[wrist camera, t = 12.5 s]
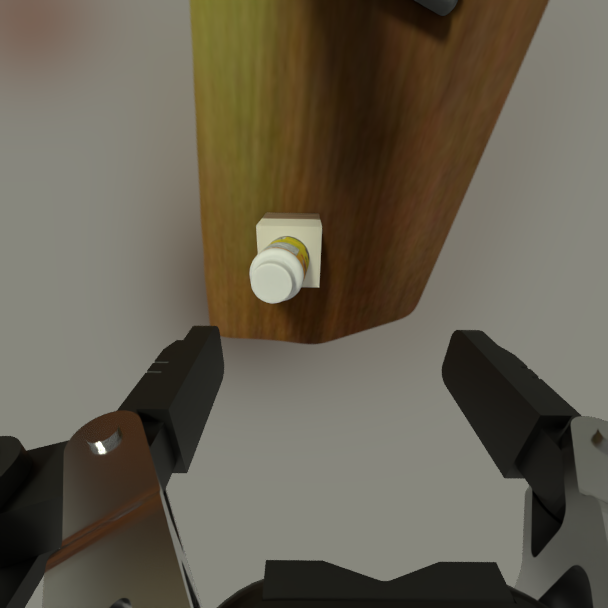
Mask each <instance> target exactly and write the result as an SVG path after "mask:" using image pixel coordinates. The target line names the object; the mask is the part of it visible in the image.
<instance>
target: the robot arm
mask: <svg viewBox="0 0 608 608" xmlns="http://www.w3.org/2000/svg"><path fill="white" fill-rule="evenodd" d="M147 371H148V372H147V373H145V374H144V376H143V377H142V378H141V380H140V381H139V382H138V384H137V385H136V386H135V388H134V389H133V390H132V391H131V393H130V394H129V395H128V397H127V398H126V399H125V401H124V402H123V403H122V405H121V406H120V407H119V409H118V410H117V411H114V412H110V413H107V414H104V415H102V416H99V417H97V418H95V419H93V420H91V421H90V422H88V423H87V424H85V425H84V426H82V427H81V428H80V429H79V430H78V431H77V432H76V433H75V434H74V435H73V436H72V437H71V439H70V440H68V441H65V442H60V443H56V444H52V445H49V446H44V447H40V448H36V449H32V450H28V451H26V450H25V448H24V447H23V445H22V444H21V443H20V441H19V440H18V439H17V438H15V437H11V436H0V608H25V606H26V604H27V603H28V601H29V599H30V598H31V596H32V594H33V592H34V591H35V589H36V587H37V586H38V584H39V582H40V581H41V579H42V577H43V575H44V584H43V601H42V608H202V605H201V602H200V598H199V595H198V593H197V589H196V586H195V583H194V580H193V577H192V573H191V570H190V567H189V564H188V561H187V558H186V554H185V551H184V548H183V545H182V541H181V537H180V534H179V531H178V527H177V524H176V521H175V517H174V514H173V511H172V507H171V504H170V501H169V497H168V494H167V491H166V486H167V484H168V481H169V479H170V477H171V474H172V473H187V472H188V469H189V466H190V463H191V461H192V458H193V456H194V453H195V451H196V448H197V445H198V443H199V440H200V437H201V435H202V432H203V429H204V427H205V424H206V422H207V419H208V416H209V414H210V411H211V409H212V406H213V403H214V401H215V398H216V395H217V393H218V390H219V388H220V385H221V382H222V379H223V374H224V360H223V353H222V346H221V339H220V332H219V329H218V327H217V326H193V327H192V328H191V330H190V331H189V333H188V334H187V336H186V337H185V338H184V340H177V341H175V342H174V343H172V344H171V345H169V346H168V347H166V348H165V349H163V351H162V352H161V353H160V355H159V356H158V357H157V359H156V360H155V363H153V364H152V365H151V366H150V368H149V369H148V370H147ZM442 378H443V381H444V384H445V385H446V387H447V389H448V390H449V392H450V393H451V395H452V396H453V398H454V400H455V401H456V403H457V404H458V406H459V407H460V409H461V411H462V412H463V414H464V415H465V417H466V418H467V420H468V421H469V423H470V424H471V426H472V428H473V429H474V431H475V432H476V434H477V436H478V437H479V439H480V440H481V442H482V444H483V445H484V447H485V448H486V450H487V451H488V453H489V455H490V456H491V458H492V459H493V461H494V462H495V464H496V466H497V467H498V469H499V470H500V472H501V473H502V475H503V477H504V478H525V479H526V481H527V482H528V484H529V487H528V488H527V490H526V492H525V506H524V529H523V553H522V566H521V570H520V574H519V577H518V579H517V582H516V585H515V588H513V587H511V586H508V585H507V584H506V582H505V580H504V578H503V576H502V574H501V572H500V570H499V568H498V566H497V564H496V562H438V563H435V564H433V565H430V566H428V567H425V568H422V569H419V570H417V571H414V572H412V573H409V574H406V575H404V576H401V577H398V578H396V579H393V580H391V581H380V580H377V579H374V578H371V577H368V576H365V575H362V574H359V573H357V572H353V571H351V570H348V569H345V568H342V567H339V566H336V565H334V564H331V563H328V562H325V561H302V560H301V561H299V560H266V565H265V576H264V579H262V580H259V581H257V582H254V583H252V584H250V585H248V586H246V587H244V588H242V589H241V590H239V591H237V592H236V593H235V594H233V595H232V596H230V597H229V598H228V599H226V600H225V601H224V602H223V603H222V604H221V605H219V606H218V607H217V608H608V421H604V420H602V419H598V418H594V417H588V416H581V415H580V414H579V413H578V412H577V411H576V410H575V409H574V408H573V407H571V406H570V405H569V404H568V403H567V402H566V401H565V400H563V398H561V397H560V396H559V395H558V394H557V393H556V392H555V391H554V390H553V389H552V388H550V387H549V386H548V385H547V384H546V383H545V382H544V381H543V380H542V379H539V378H538V376H537V375H536V374H535V373H534V372H533V371H532V370H531V369H528V368H527V366H526V365H525V364H524V363H523V362H522V361H521V360H520V359H519V358H517V357H516V356H515V355H514V354H512V353H510V352H509V351H507V350H505V349H503V348H501V347H500V346H498V345H497V344H496V343H495V342H494V341H493V340H492V339H490V338H489V337H488V336H487V335H486V334H485V333H484V332H483V331H480V330H456V331H454V333H453V334H452V336H451V339H450V343H449V346H448V349H447V353H446V356H445V359H444V362H443V365H442ZM59 548H60V549H59Z"/></svg>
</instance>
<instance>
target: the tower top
mask: <svg viewBox="0 0 608 608" xmlns="http://www.w3.org/2000/svg"><path fill="white" fill-rule="evenodd" d="M256 230H257V247H258V254H259V253H260V252H261V251H262V250H264V249H265V248H266V247H267V246H268V245H269V244H270V243H271V242H272V241H274V240H275V239H277V238H279V237H283V236H291V237H295V238H297V239H299V240H300V241H301V242H302V243H303V244H304V245H305V246H306V248H307V250H308V252H309V257H310V261H309V266H308V269H307V272H306V276H305V279H304V282H303V285H302V287H319V283H320V262H321V242H322V224H321V221H320V220H316V219H267V218H262V219H261V220H260V222H259V223H258V224H257V225H256Z"/></svg>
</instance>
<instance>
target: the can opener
mask: <svg viewBox="0 0 608 608" xmlns="http://www.w3.org/2000/svg"><path fill="white" fill-rule="evenodd" d="M414 1H416V2H417V3H419V4H421V5H423V6H424V7H426V8H428V9H430V10H432V11H433V12H435V13H437V14H438V15H441V16H445V15H447V14H448V13H450V12H451V11H452V10H453V9H454V7H455V6H456V3H457V1H458V0H414Z"/></svg>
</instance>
